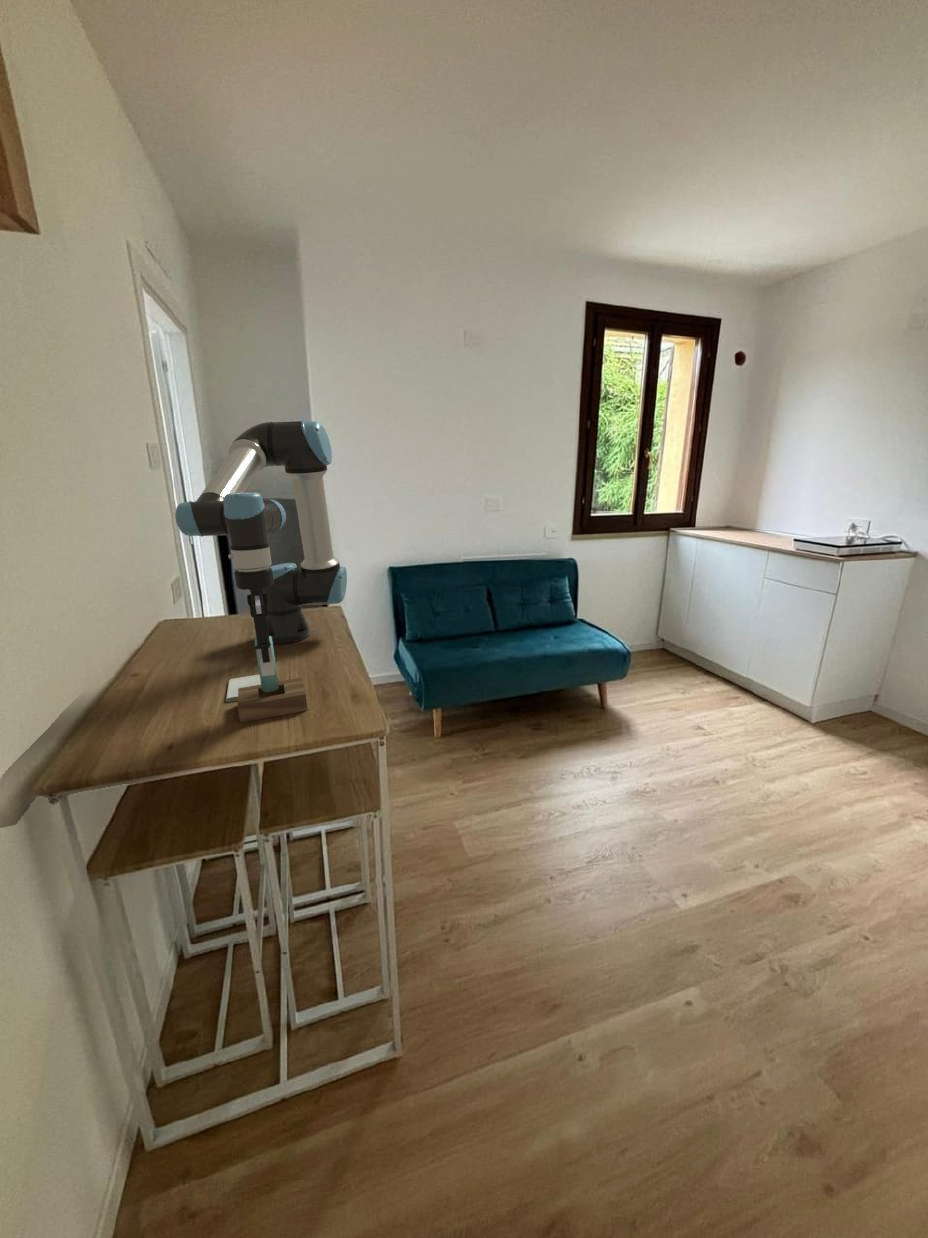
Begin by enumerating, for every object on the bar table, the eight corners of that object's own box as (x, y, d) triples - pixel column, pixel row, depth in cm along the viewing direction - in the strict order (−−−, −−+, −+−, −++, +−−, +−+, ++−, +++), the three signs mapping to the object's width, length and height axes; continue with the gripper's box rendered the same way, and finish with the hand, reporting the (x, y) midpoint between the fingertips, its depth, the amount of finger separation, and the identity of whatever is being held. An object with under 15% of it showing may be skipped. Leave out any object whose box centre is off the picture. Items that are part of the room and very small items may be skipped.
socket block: (241, 703, 119) (238, 688, 118) (303, 692, 124) (301, 677, 123) (240, 723, 110) (237, 706, 109) (307, 710, 115) (305, 693, 114)
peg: (261, 687, 116) (254, 637, 113) (278, 684, 118) (271, 634, 114) (262, 693, 113) (254, 642, 110) (279, 690, 114) (272, 639, 111)
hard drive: (263, 692, 122) (262, 673, 134) (225, 698, 120) (228, 678, 131) (264, 698, 123) (263, 679, 134) (226, 705, 120) (229, 684, 131)
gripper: (234, 563, 114) (249, 662, 120) (232, 577, 99) (250, 688, 106) (270, 560, 116) (283, 657, 123) (273, 573, 102) (288, 682, 108)
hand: (268, 671), depth 114 cm, fingers closed on peg, 3 cm apart
